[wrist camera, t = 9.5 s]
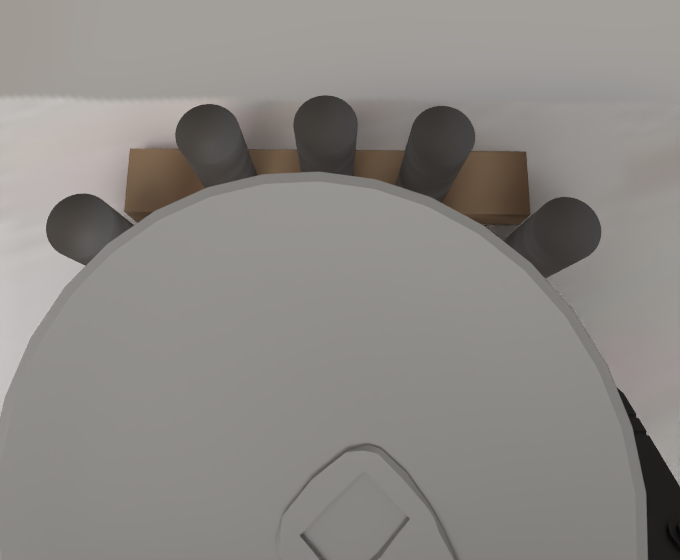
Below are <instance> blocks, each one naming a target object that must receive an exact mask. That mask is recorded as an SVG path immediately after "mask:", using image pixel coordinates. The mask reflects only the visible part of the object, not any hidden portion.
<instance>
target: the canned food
mask: <svg viewBox="0 0 680 560" xmlns="http://www.w3.org/2000/svg"><path fill="white" fill-rule="evenodd" d="M0 560H648V546H647V506H646V490H645V485H644V481H643V476H642V471H641V466H640V462H639V457H638V452H637V447H636V442H635V438H634V433H633V428H632V425H631V423H630V420H629V418H628V415H627V413H626V410H625V408H624V405H623V403H622V400H621V398H620V395H619V393H618V390H617V388H616V385H615V383H614V380H613V378H612V375H611V373H610V370H609V368H608V365H607V364H606V362H605V360H604V359H603V357H602V356H601V354H600V352H599V351H598V349H597V348H596V346H595V344H594V343H593V341H592V340H591V338H590V336H589V335H588V333H587V332H586V330H585V328H584V327H583V325H582V323H581V322H580V320H579V319H578V317H577V315H576V314H575V312H574V311H573V309H572V308H571V307H570V306H569V305H568V304H567V303H566V302H565V300H564V299H563V298H562V297H561V296H560V295H559V294H558V293H557V291H556V290H555V289H554V288H553V287H552V286H551V285H550V284H549V282H548V281H547V280H546V279H545V278H544V277H543V276H542V275H541V274H540V272H539V271H538V270H537V269H536V268H535V267H534V266H533V265H532V263H530V262H529V261H528V260H527V259H525V258H524V257H523V256H521V255H520V254H519V253H518V252H516V251H515V250H514V249H513V248H511V247H510V246H509V245H508V244H506V243H505V242H504V241H502V240H501V239H500V238H499V237H497V236H496V235H495V234H494V233H492V232H491V231H490V230H489V229H487V228H486V227H485V226H483V225H482V224H480V223H478V222H476V221H474V220H472V219H470V218H469V217H467V216H465V215H463V214H461V213H459V212H457V211H456V210H454V209H452V208H450V207H448V206H446V205H444V204H443V203H441V202H439V201H437V200H435V199H433V198H431V197H429V196H425V195H422V194H419V193H416V192H413V191H410V190H407V189H404V188H401V187H398V186H395V185H392V184H389V183H386V182H383V181H380V180H377V179H370V178H363V177H355V176H348V175H341V174H333V173H326V172H301V173H280V174H262V175H258V176H254V177H249V178H245V179H241V180H237V181H233V182H228V183H224V184H220V185H216V186H211V187H207V188H205V189H203V190H201V191H198V192H196V193H194V194H192V195H189V196H187V197H185V198H183V199H180V200H178V201H176V202H174V203H172V204H169V205H167V206H165V207H163V208H160V209H158V210H156V211H154V212H153V213H151V214H150V215H148V216H147V217H145V218H144V219H143V220H141V221H140V222H138V223H137V224H135V225H134V226H133V227H131V228H130V229H128V230H127V231H125V232H124V233H122V234H121V235H120V236H118V237H117V238H115V239H114V240H112V241H111V242H110V243H108V244H107V245H106V246H105V247H104V248H103V249H102V250H101V251H100V252H99V253H98V254H97V255H96V256H95V257H94V258H93V259H92V260H91V261H90V262H89V263H88V264H87V265H86V266H85V267H84V268H83V269H82V270H81V271H80V272H79V273H78V274H77V275H76V276H75V277H74V278H73V279H72V280H71V281H70V282H69V283H68V284H67V285H66V287H65V288H64V289H63V291H62V292H61V294H60V295H59V297H58V298H57V300H56V301H55V303H54V304H53V306H52V307H51V309H50V310H49V312H48V313H47V315H46V316H45V318H44V319H43V321H42V322H41V323H40V325H39V326H38V328H37V329H36V331H35V332H34V334H33V335H32V337H31V338H30V341H29V343H28V345H27V348H26V350H25V352H24V355H23V357H22V359H21V362H20V364H19V366H18V368H17V371H16V373H15V375H14V378H13V380H12V382H11V385H10V387H9V389H8V392H7V394H6V396H5V400H4V404H3V408H2V413H1V417H0Z"/></svg>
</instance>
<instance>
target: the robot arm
mask: <svg viewBox="0 0 680 560" xmlns="http://www.w3.org/2000/svg"><path fill="white" fill-rule="evenodd" d="M616 388H617V387H616ZM617 390H618V393H619V395H620V398H621V400H622V403H623V405H624V408H625V410H626V413H627V415H628V418H629V420H630V423H631V425H632V428H633V433H634V438H635V442H636V447H637V452H638V457H639V462H640V466H641V471H642V476H643V481H644V485H645V490H646V506H647V546H648V560H680V486H679V485H678V483H677V481H676V480H675V478H674V476H673V475H672V473H671V471H670V470H669V468H668V466H667V465H666V463H665V461H664V460H663V458H662V456H661V455H660V453H659V451H658V450H657V448H656V446H655V445H654V443H653V441H652V440H651V438H650V436H647V435H646V430H645V428H644V426H643V425H642V423H641V421H640V420H639V418H636V413H635V412H634V410H633V408H632V407H631V405H630V403H629V402H628V400H627V398H626V397H625V395H624V393H622V392H621V391H620V390H619V389H618V388H617Z"/></svg>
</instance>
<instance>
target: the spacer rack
mask: <svg viewBox="0 0 680 560" xmlns="http://www.w3.org/2000/svg"><path fill="white" fill-rule="evenodd" d="M294 133H295V139H296V145H297V150H248V148H247V145H246V143H245V140H244V137H243V135H242V132H241V129H240V127H239V124H238V122H237V120H236V118H235V117H234V115H233V114H232V113H231V112H230V111H229V110H227V109H225V108H223V107H221V106H218V105H213V104H205V105H200V106H197V107H194V108H192V109H191V110H189V111H188V112H186V113H185V114H184V115H183V117H182V118H181V119H180V121H179V123H178V125H177V128H176V143H177V146H178V148H179V149H130V154H129V166H128V177H127V188H126V199H125V210H124V212H125V213H126V214H128V215H129V216H130V217H131V218H133V219H134V220H135V221H136V222H140V221H141V220H143V219H144V218H145V217H147V216H148V215H150V214H151V213H153V212H154V211H156V210H158V209H160V208H163V207H165V206H167V205H169V204H172V203H174V202H176V201H178V200H180V199H183V198H185V197H187V196H189V195H192V194H194V193H196V192H198V191H201V190H203V189H205V188H207V187H211V186H216V185H220V184H224V183H228V182H233V181H237V180H241V179H245V178H249V177H254V176H258V175H262V174H280V173H301V172H326V173H333V174H341V175H348V176H355V177H363V178H370V179H377V180H380V181H383V182H386V183H389V184H392V185H395V186H398V187H401V188H404V189H407V190H410V191H413V192H416V193H419V194H422V195H425V196H429V197H431V198H433V199H435V200H437V201H439V202H441V203H443V204H444V205H446V206H448V207H450V208H452V209H454V210H456V211H457V212H459V213H461V214H463V215H465V216H467V217H469V218H470V219H472V220H474V221H476V222H478V223H480V224H486V225H519V224H520V223H521V222H523V221H524V220H525V219H526V218H527V217H528V216H529V215H530V203H529V188H528V173H527V159H526V152H509V151H471V150H472V148H473V146H474V142H475V132H474V128H473V126H472V124H471V122H470V120H469V119H468V118H467V117H466V116H465V115H464V114H463V113H462V112H460V111H459V110H457V109H454V108H451V107H447V106H437V107H432V108H429V109H427V110H425V111H424V112H422V113H421V114H420V115H419V116H418V117H417V118H416V120H415V121H414V123H413V126H412V129H411V132H410V136H409V139H408V143H407V146H406V149H405V151H378V150H356V138H357V118H356V115H355V113H354V111H353V109H352V108H351V107H350V106H349V105H348V104H347V103H346V102H345V101H343V100H342V99H339V98H337V97H334V96H318V97H314V98H312V99H310V100H308V101H306V102H305V103H304V104H303V105H302V106H301V107H300V108H299V109H298V111H297V113H296V115H295V118H294ZM133 226H134V225H133V224H132V223H131V222H129V221H128V220H127V219H126V218H124V217H123V216H122V215H121V214H119V213H118V212H117V211H115V210H114V209H113V208H112V207H110V206H109V205H108V204H107V203H105V202H104V201H103V200H102V199H100V198H98V197H96V196H94V195H90V194H75V195H72V196H69V197H67V198H65V199H63V200H62V201H60V202H59V203H58V204H57V205H56V206H55V207H54V208H53V210H52V211H51V213H50V215H49V217H48V220H47V225H46V232H47V237H48V240H49V242H50V244H51V245H52V247H53V248H54V249H55V250H56V251H58V252H59V253H61V254H63V255H65V256H67V257H69V258H71V259H73V260H75V261H77V262H79V263H81V264H83V265H85V266H86V265H87V264H88V263H89V262H90V261H91V260H92V259H93V258H94V257H95V256H96V255H97V254H98V253H99V252H100V251H101V250H102V249H103V248H104V247H105V246H106V245H107V244H108V243H110V242H111V241H112V240H114V239H115V238H117V237H118V236H120V235H121V234H122V233H124V232H125V231H127V230H128V229H130V228H131V227H133ZM600 238H601V226H600V222H599V219H598V217H597V215H596V214H595V212H594V211H593V210H592V209H591V208H590V207H589V206H588V205H587V204H585V203H584V202H582V201H580V200H578V199H575V198H570V197H560V198H556V199H553V200H551V201H549V202H547V203H546V204H545V205H543V206H542V207H541V208H540V209H539V210H538V211H537V212H535V213H534V214H533V215H532V216H531V217H530V218H529V219H528V220H526V221H525V222H524V223H523V224H522V225H521V226H520V227H518V228H517V229H516V230H515V231H514V232H513V233H512V234H510V235H509V236H508V237H507V238H506V239H505V240H504V242H505V243H506V244H508V245H509V246H510V247H511V248H513V249H514V250H515V251H516V252H518V253H519V254H520V255H521V256H523V257H524V258H525V259H527V260H528V261H529V262H530V263H532V265H533V266H534V267H535V268H536V269H537V270H538V271H539V272H540V274H541V275H542V276H543V277H544V278H547V277H549V276H551V275H553V274H555V273H557V272H559V271H560V270H562V269H564V268H566V267H568V266H570V265H572V264H574V263H576V262H578V261H580V260H582V259H583V258H585V257H587V256H589V255H590V254H591V253H592V252H593V251H594V250H595V249H596V247H597V246H598V244H599V241H600Z"/></svg>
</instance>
